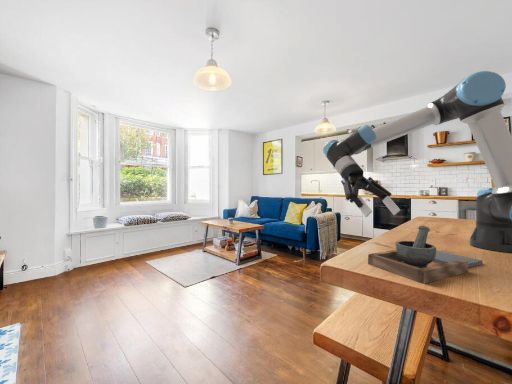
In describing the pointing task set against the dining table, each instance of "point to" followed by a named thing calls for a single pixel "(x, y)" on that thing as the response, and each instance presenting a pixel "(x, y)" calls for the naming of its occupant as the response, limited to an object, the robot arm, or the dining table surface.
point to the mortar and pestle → (417, 250)
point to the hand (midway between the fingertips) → (383, 213)
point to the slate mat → (454, 258)
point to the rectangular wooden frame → (424, 275)
